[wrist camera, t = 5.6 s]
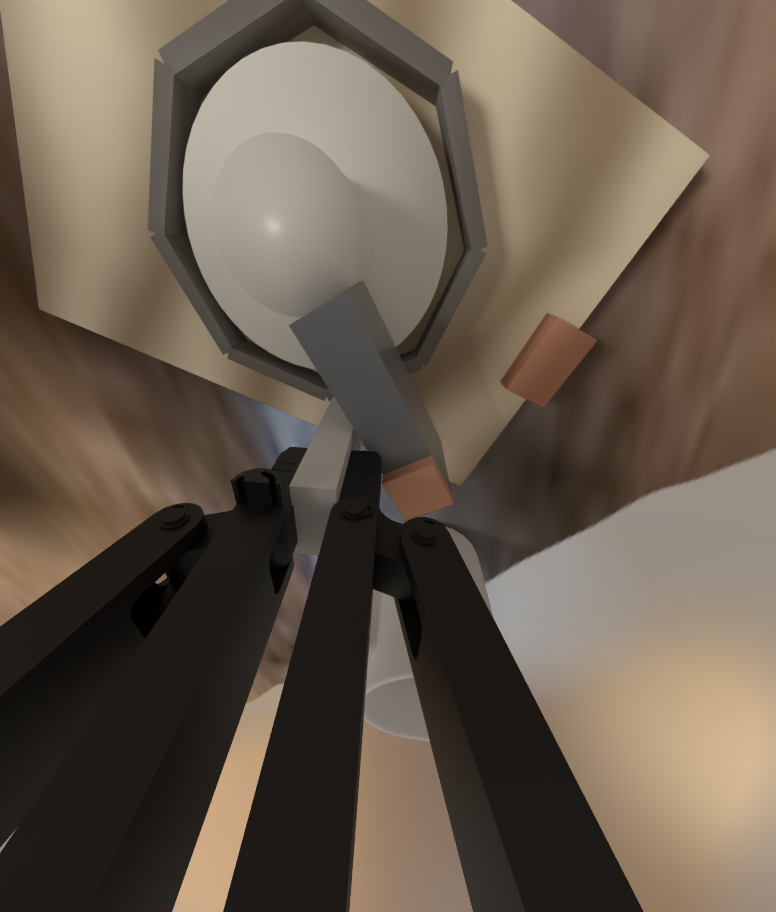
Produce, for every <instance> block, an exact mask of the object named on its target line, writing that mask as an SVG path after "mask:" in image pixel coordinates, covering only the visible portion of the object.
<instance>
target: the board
mask: <svg viewBox="0 0 776 912" xmlns="http://www.w3.org/2000/svg"><path fill="white" fill-rule="evenodd" d="M0 11H1V18H2V26H3V34H4V42H5V49H6V57H7V65H8V73H9V80H10V88H11V96H12V104H13V111H14V119H15V127H16V134H17V142H18V150H19V158H20V165H21V173H22V181H23V189H24V196H25V204H26V212H27V220H28V227H29V235H30V243H31V251H32V258H33V266H34V274H35V281H36V289H37V297H38V305H39V309H40V310H43V311H45V312H48V313H50V314H52V315H55V316H57V317H59V318H62V319H64V320H67V321H69V322H71V323H74V324H76V325H78V326H81V327H83V328H86V329H88V330H90V331H93V332H95V333H97V334H100V335H102V336H105V337H107V338H109V339H112V340H114V341H117V342H119V343H121V344H124V345H126V346H128V347H131V348H133V349H136V350H138V351H140V352H143V353H145V354H147V355H150V356H152V357H155V358H157V359H159V360H162V361H164V362H167V363H169V364H171V365H174V366H176V367H178V368H181V369H183V370H186V371H188V372H190V373H193V374H195V375H197V376H200V377H202V378H205V379H207V380H209V381H212V382H214V383H216V384H219V385H221V386H224V387H226V388H228V389H231V390H233V391H236V392H238V393H240V394H243V395H245V396H247V397H250V398H252V399H255V400H257V401H259V402H262V403H264V404H266V405H269V406H271V407H274V408H276V409H278V410H281V411H283V412H286V413H288V414H290V415H293V416H295V417H297V418H300V419H302V420H305V421H307V422H309V423H312V424H314V425H316V426H319V424H320V422H321V420H322V418H323V416H324V414H325V412H326V410H327V408H328V406H329V404H330V402H331V400H332V398H333V397H334V396H333V395H332V393H331V392H330V390H329V388H328V387H327V385H326V384H325V382H324V380H323V379H322V377H321V376H320V374H319V373H318V371H317V369H311V368H307V367H303V366H299V365H295V364H293V363H290V362H288V361H285V360H283V359H281V358H279V357H277V356H275V355H273V354H271V353H269V352H268V351H266V350H265V349H263V348H262V347H260V346H259V345H257V344H256V343H255V342H254V341H252V340H251V339H250V338H249V337H248V336H247V335H245V334H244V333H243V332H242V331H241V330H240V329H239V328H238V327H237V326H236V325H235V324H234V323H233V322H232V320H231V319H230V318H229V317H228V315H227V314H226V313H225V312H224V310H223V309H222V308H221V307H220V305H219V303H218V302H217V300H216V299H215V297H214V296H213V294H212V293H211V291H210V289H209V287H208V285H207V283H206V281H205V279H204V277H203V276H202V274H201V271H200V269H199V266H198V264H197V261H196V259H195V256H194V253H193V250H192V246H191V243H190V239H189V236H188V231H187V226H186V220H185V215H184V204H183V167H184V160H185V154H186V147H187V144H188V140H189V136H190V133H191V129H192V126H193V123H194V121H195V119H196V116H197V114H198V112H199V109H200V107H201V105H202V103H203V102H204V100H205V99H206V97H207V95H208V94H209V92H210V91H211V89H212V87H213V86H214V85H215V84H216V83H217V82H218V80H219V79H220V78H221V77H222V76H223V75H224V74H225V72H226V71H227V70H229V69H230V68H231V67H233V66H234V65H235V64H236V63H238V62H239V61H240V60H241V59H243V58H244V57H246V56H248V55H250V54H252V53H254V52H256V51H258V50H260V49H262V48H265V47H269V46H272V45H276V44H280V43H286V42H303V41H304V42H311V43H318V44H325V45H328V46H331V47H334V48H337V49H340V50H343V51H346V52H348V53H350V54H351V55H353V56H355V57H357V58H359V59H360V60H362V61H364V62H366V63H367V64H369V65H370V66H371V67H372V68H374V69H375V70H376V71H377V72H379V73H380V74H381V75H383V76H384V77H385V78H386V79H387V80H388V81H389V82H390V83H391V84H392V85H393V86H394V87H395V88H396V89H397V91H398V92H399V93H400V94H401V95H402V96H403V97H404V99H405V100H406V102H407V103H408V104H409V106H410V107H411V109H412V110H413V111H414V113H415V114H416V116H417V117H418V119H419V121H420V123H421V125H422V127H423V129H424V130H425V132H426V134H427V136H428V138H429V141H430V143H431V146H432V148H433V151H434V153H435V156H436V158H437V162H438V165H439V169H440V173H441V176H442V180H443V185H444V191H445V198H446V205H447V225H448V229H447V244H446V253H445V258H444V264H443V269H442V273H441V276H440V279H439V283H438V286H437V289H436V291H435V293H434V296H433V298H432V301H431V303H430V305H429V307H428V308H427V310H426V312H425V314H424V315H423V317H422V319H421V320H420V321H419V323H418V324H417V325H416V327H415V328H414V329H413V331H412V332H411V333H410V334H409V335H408V336H407V337H406V338H405V339H404V340H403V341H402V342H401V343H400V344H399V345H398V346H396V349H397V351H398V353H399V355H400V357H401V359H402V361H403V363H404V365H405V367H406V369H407V371H408V373H409V375H410V377H411V379H412V381H413V383H414V385H415V388H416V390H417V392H418V394H419V396H420V398H421V400H422V402H423V404H424V406H425V408H426V410H427V412H428V414H429V416H430V418H431V420H432V422H433V424H434V426H435V429H436V431H437V433H438V435H439V437H440V439H441V442H442V447H443V452H444V458H445V463H446V468H447V473H448V478H449V481H450V482H452V483H455V484H457V485H459V486H461V485H462V484H463V482H464V481H465V480H466V478H467V477H468V476H469V475H470V473H471V472H472V471H473V469H474V468H475V467H476V465H477V464H478V463H479V461H480V460H481V459H482V457H483V456H484V455H485V453H486V452H487V451H488V449H489V448H490V447H491V445H492V444H493V443H494V441H495V440H496V439H497V437H498V436H499V435H500V433H501V432H502V431H503V429H504V428H505V427H506V425H507V424H508V423H509V421H510V420H511V419H512V417H513V416H514V415H515V413H516V412H517V411H518V409H519V408H520V407H521V405H522V404H523V403H524V401H525V400H528V401H530V402H532V403H534V404H536V405H538V406H540V407H542V408H544V407H545V405H546V404H547V403H548V402H549V400H550V399H551V398H552V397H553V395H554V394H555V393H556V392H557V390H558V389H559V388H560V386H561V385H562V384H563V383H564V381H565V380H566V379H567V378H568V376H569V375H570V374H571V373H572V371H573V370H574V369H575V368H576V366H577V365H578V364H579V363H580V361H581V360H582V359H583V358H584V356H585V355H586V354H587V353H588V351H589V350H590V349H591V348H592V346H593V345H594V344H595V343H596V341H597V339H595V338H593V337H592V336H590V335H588V334H587V333H585V332H583V331H581V330H580V329H579V328H580V327H581V326H582V324H583V323H584V322H585V320H586V319H587V318H588V316H589V315H590V314H591V312H592V311H593V310H594V309H595V307H596V306H597V305H598V303H599V302H600V301H601V299H602V298H603V297H604V295H605V294H606V293H607V291H608V290H609V289H610V287H611V286H612V285H613V283H614V282H615V281H616V279H617V278H618V277H619V275H620V274H621V273H622V271H623V270H624V269H625V267H626V266H627V265H628V263H629V262H630V261H631V259H632V258H633V257H634V255H635V254H636V253H637V251H638V250H639V249H640V247H641V246H642V245H643V243H644V242H645V241H646V239H647V238H648V237H649V235H650V234H651V233H652V231H653V230H654V229H655V227H656V226H657V225H658V224H659V222H660V221H661V220H662V218H663V217H664V216H665V214H666V213H667V212H668V210H669V209H670V208H671V206H672V205H673V204H674V202H675V201H676V200H677V198H678V197H679V196H680V194H681V193H682V192H683V190H684V189H685V188H686V186H687V185H688V184H689V182H690V181H691V180H692V178H693V177H694V176H695V174H696V173H697V172H698V170H699V169H700V168H701V166H702V165H703V164H704V162H705V161H706V160H707V158H708V157H709V156H710V155H709V154H708V153H706V152H705V151H704V150H702V149H701V148H700V147H699V146H697V145H696V144H695V143H693V142H692V141H691V140H690V139H688V138H687V137H686V136H685V135H683V134H682V133H681V132H679V131H678V130H677V129H676V128H674V127H673V126H672V125H670V124H669V123H668V122H667V121H665V120H664V119H663V118H661V117H660V116H659V115H658V114H656V113H655V112H654V111H652V110H651V109H650V108H649V107H647V106H646V105H645V104H644V103H642V102H641V101H640V100H638V99H637V98H636V97H635V96H633V95H632V94H631V93H629V92H628V91H627V90H626V89H624V88H623V87H622V86H620V85H619V84H618V83H617V82H615V81H614V80H613V79H611V78H610V77H609V76H608V75H606V74H605V73H604V72H603V71H601V70H600V69H599V68H597V67H596V66H595V65H594V64H592V63H591V62H590V61H588V60H587V59H586V58H585V57H583V56H582V55H581V54H579V53H578V52H577V51H576V50H574V49H573V48H572V47H570V46H569V45H568V44H567V43H565V42H564V41H563V40H561V39H560V38H559V37H558V36H556V35H555V34H554V33H553V32H551V31H550V30H549V29H547V28H546V27H545V26H544V25H542V24H541V23H540V22H538V21H537V20H536V19H535V18H533V17H532V16H531V15H529V14H528V13H527V12H526V11H524V10H523V9H522V8H520V7H519V6H518V5H517V4H515V3H514V2H513V1H512V0H0ZM361 444H362V445H364V444H363V442H362V441H361ZM364 446H365V445H364Z"/></svg>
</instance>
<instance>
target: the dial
mask: <svg viewBox="0 0 776 912" xmlns="http://www.w3.org/2000/svg"><path fill="white" fill-rule="evenodd" d="M183 204H184V215H185V220H186V226H187V231H188V236H189V239H190V243H191V246H192V250H193V253H194V256H195V259H196V261H197V264H198V266H199V269H200V271H201V274H202V276H203V277H204V279H205V281H206V283H207V285H208V287H209V289H210V291H211V293H212V294H213V296H214V297H215V299H216V300H217V302H218V303H219V305H220V307H221V308H222V309H223V310H224V312H225V313H226V314H227V315H228V317H229V318H230V319H231V320H232V322H233V323H234V324H235V325H236V326H237V327H238V328H239V329H240V330H241V331H242V332H243V333H244V334H245V335H247V336H248V337H249V338H250V339H251V340H252V341H254V342H255V343H256V344H257V345H259V346H260V347H262V348H263V349H265V350H266V351H268V352H269V353H271V354H273V355H275V356H277V357H279V358H281V359H283V360H285V361H288V362H290V363H293V364H295V365H299V366H303V367H307V368H311V369H317V371H318V373H319V374H320V376H321V377H322V379H323V380H324V382H325V384H326V385H327V387H328V388H329V390H330V392H331V393H332V395H333V396H334V398H335V399H336V401H337V403H338V404H339V406H340V407H341V409H342V410H343V412H344V414H345V415H346V417H347V418H348V420H349V422H350V423H351V425H352V426H353V428H354V429H355V431H356V433H357V434H358V436H359V437H360V439H361V441H362V442H363V444H364V445H365V447H366V448H367V450H368V451H373V452H378V454H379V455H380V457H381V458H382V474H383V480H382V485H383V486H384V488H385V489H386V491H387V492H388V494H389V496H390V497H391V499H392V500H393V502H394V503H395V505H396V506H397V508H398V509H399V511H400V513H401V514H402V516H403V517H404V519H405V520H406V521H407V520H409V519H412V518H415V517H418V516H421V515H424V514H427V513H430V512H433V511H436V510H438V509H441V508H444V507H447V506H450V505H453V504H454V503H453V498H452V493H451V488H450V483H449V478H448V473H447V468H446V463H445V458H444V452H443V447H442V442H441V439H440V437H439V435H438V433H437V431H436V429H435V426H434V424H433V422H432V420H431V418H430V416H429V414H428V412H427V410H426V408H425V406H424V404H423V402H422V400H421V398H420V396H419V394H418V392H417V390H416V388H415V385H414V383H413V381H412V379H411V377H410V375H409V373H408V371H407V369H406V367H405V365H404V363H403V361H402V359H401V357H400V355H399V353H398V351H397V349H396V346H398V345H399V344H400V343H401V342H402V341H403V340H404V339H405V338H406V337H407V336H408V335H409V334H410V333H411V332H412V331H413V329H414V328H415V327H416V325H417V324H418V323H419V321H420V320H421V319H422V317H423V315H424V314H425V312H426V310H427V308H428V307H429V305H430V303H431V301H432V298H433V296H434V293H435V291H436V289H437V286H438V283H439V279H440V276H441V273H442V269H443V264H444V258H445V253H446V244H447V229H448V225H447V205H446V198H445V191H444V185H443V180H442V176H441V173H440V169H439V165H438V162H437V158H436V156H435V153H434V151H433V148H432V146H431V143H430V141H429V138H428V136H427V134H426V132H425V130H424V129H423V127H422V125H421V123H420V121H419V119H418V117H417V116H416V114H415V113H414V111H413V110H412V109H411V107H410V106H409V104H408V103H407V102H406V100H405V99H404V97H403V96H402V95H401V94H400V93H399V92H398V91H397V89H396V88H395V87H394V86H393V85H392V84H391V83H390V82H389V81H388V80H387V79H386V78H385V77H384V76H383V75H381V74H380V73H379V72H377V71H376V70H375V69H374V68H372V67H371V66H370V65H369V64H367V63H366V62H364V61H362V60H360V59H359V58H357V57H355V56H353V55H351V54H350V53H348V52H346V51H343V50H340V49H337V48H334V47H331V46H328V45H325V44H318V43H311V42H304V41H303V42H286V43H280V44H276V45H272V46H269V47H265V48H262V49H260V50H258V51H256V52H254V53H252V54H250V55H248V56H246V57H244V58H243V59H241V60H240V61H239V62H238V63H236V64H235V65H234V66H233V67H231V68H230V69H229V70H227V71H226V72H225V74H224V75H223V76H222V77H221V78H220V79H219V80H218V82H217V83H216V84H215V85H214V86H213V87H212V89H211V91H210V92H209V94H208V95H207V97H206V99H205V100H204V102H203V103H202V105H201V107H200V109H199V112H198V114H197V116H196V119H195V121H194V123H193V126H192V129H191V133H190V136H189V140H188V144H187V147H186V154H185V160H184V167H183Z"/></svg>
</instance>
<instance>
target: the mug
mask: <svg viewBox="0 0 776 912" xmlns="http://www.w3.org/2000/svg"><path fill="white" fill-rule="evenodd" d="M445 527H446V526H445ZM446 529H447V530H448V531H449V533H450V535H451V537H452V539H453V540H454V542H455V544H456V546H457V548H458V550H459V552H460V554H461V556H462V558H463V560H464V562H465V564H466V566H467V568H468V570H469V572H470V574H471V576H472V578H473V580H474V582H475V583H476V585H477V587H478V589H479V591H480V593H481V595H482V597H483V599H484V601H485V603H486V605H487V607H488V609H489V611H490V613H491V615H492V612H491V607H490V603H489V599H488V595H487V591H486V587H485V583H484V579H483V574H482V570H481V566H480V563H479V559H478V556H477V553H476V551H475V549H474V547H473V545H472V544H471V543H470V541H469V540H468V539H467V538H466V537H465V536H463V535H462V534H461V533H459V532H457V531H456V530H454V529H451V528H449V527H446ZM492 617H493V615H492ZM364 720H365V721H366V722H367V723H368V724H370V725H372V726H373V727H375V728H377V729H379V730H381V731H384V732H386V733H389V734H393V735H396V736H400V737H404V738H410V739H416V740H426V741H430V739H429V735H428V731H427V728H426V724H425V720H424V716H423V712H422V708H421V704H420V700H419V696H418V692H417V688H416V684H415V680H414V676H413V672H412V668H411V664H410V660H409V656H408V653H407V649H406V645H405V641H404V637H403V633H402V629H401V625H400V621H399V617H398V613H397V609H396V605H395V601H394V597H392V596H389V595H387V594H384V593H382V592H379V591H376V590H373V600H372V614H371V627H370V641H369V654H368V668H367V681H366V694H365V708H364Z"/></svg>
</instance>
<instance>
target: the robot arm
mask: <svg viewBox="0 0 776 912" xmlns="http://www.w3.org/2000/svg"><path fill="white" fill-rule="evenodd" d="M360 446H361V439H360V437H359V436H358V434H357V433H356V431H355V429H354V428H353V426H352V425H351V423H350V422H349V420H348V418H347V417H346V415H345V414H344V412H343V410H342V409H341V407H340V406H339V404H338V403H337V401H336V399H335V398H334V397H333V398H332V400H331V402H330V404H329V406H328V408H327V410H326V412H325V414H324V416H323V418H322V420H321V422H320V424H319V426H318V428H317V430H316V432H315V434H314V436H313V439H312V441H311V443H310V445H309V447H308V448H298V447H290V448H288V449H287V450H285V451H284V452H283V453H281V454H280V456H279V457H278V459H277V461H276V464H274V466H273V467H272V470H270V469H265V468H260V469H252V470H248V471H244V472H242V473H240V474H238V475H236V476H235V477H234V478H233V479H232V480H231V484H232V488H233V491H234V495H235V499H236V503H237V505H236V506H235V507H234V509H233V510H231V511H227V512H221V513H215V514H209V515H204V513H203V510H202V508H201V507H200V506H198V505H196V504H191V503H181V504H175V505H172V506H169V507H166V508H164V509H162V510H160V511H158V512H157V513H155V514H153V515H152V516H151V517H149V518H148V519H147V520H145V521H144V522H142V523H141V524H140V525H138V526H137V527H136V528H134V529H133V530H132V531H130V532H129V533H127V534H126V535H125V536H123V537H122V538H121V539H119V540H118V541H117V542H115V543H114V544H112V545H111V546H110V547H108V548H107V549H106V550H104V551H103V552H102V553H100V554H99V555H97V556H96V557H95V558H93V559H92V560H91V561H89V562H88V563H86V564H85V565H84V566H82V567H81V568H80V569H78V570H77V571H76V572H74V573H73V574H71V575H70V576H69V577H67V578H66V579H65V580H63V581H62V582H61V583H59V584H58V585H56V586H55V587H54V588H52V589H51V590H50V591H48V592H47V593H46V594H44V595H43V596H41V597H40V598H39V599H37V600H36V601H35V602H33V603H32V604H30V605H29V606H28V607H26V608H25V609H24V610H22V611H21V612H20V613H18V614H17V615H15V616H14V617H13V618H11V619H10V620H9V621H7V622H6V623H5V624H3V625H2V626H0V847H1V846H2V845H3V843H4V842H5V841H6V840H7V839H8V838H9V836H10V835H11V834H12V833H13V832H14V831H15V830H16V831H15V832H14V833H13V835H12V836H11V838H10V839H9V841H8V842H7V844H6V845H5V847H4V848H3V850H2V851H1V853H0V912H172V910H173V907H174V905H175V902H176V899H177V896H178V893H179V890H180V888H181V885H182V882H183V879H184V876H185V874H186V870H187V868H188V865H189V862H190V859H191V856H192V854H193V851H194V848H195V845H196V842H197V839H198V837H199V834H200V831H201V828H202V825H203V823H204V820H205V817H206V814H207V811H208V808H209V806H210V803H211V800H212V797H213V794H214V791H215V789H216V786H217V783H218V780H219V777H220V775H221V772H222V769H223V766H224V763H225V760H226V758H227V755H228V752H229V749H230V746H231V744H232V741H233V738H234V735H235V732H236V729H237V726H238V724H239V721H240V717H241V715H242V712H243V710H244V707H245V704H246V701H247V698H248V695H249V693H250V690H251V687H252V684H253V681H254V679H255V676H256V673H257V670H258V667H259V664H260V662H261V659H262V656H263V653H264V650H265V647H266V645H267V642H268V639H269V636H270V633H271V630H272V628H273V625H274V622H275V619H276V616H277V614H278V611H279V608H280V605H281V602H282V599H283V597H284V594H285V591H286V588H287V585H288V582H289V580H290V577H291V574H292V571H293V567H294V560H293V552H294V550H295V547H296V544H297V547H298V554H304V555H317V556H318V559H317V563H316V567H315V571H314V574H313V578H312V582H311V586H310V589H309V593H308V597H307V601H306V604H305V608H304V612H303V616H302V619H301V623H300V627H299V630H298V634H297V638H296V642H295V645H294V649H293V653H292V657H291V660H290V664H289V668H288V672H287V675H286V679H285V683H284V687H283V690H282V694H281V698H280V702H279V705H278V709H277V713H276V717H275V721H274V724H273V728H272V732H271V735H270V739H269V743H268V747H267V750H266V754H265V758H264V761H263V765H262V769H261V773H260V776H259V780H258V784H257V788H256V791H255V795H254V799H253V803H252V806H251V810H250V814H249V818H248V822H247V825H246V829H245V832H244V837H243V840H242V844H241V847H240V851H239V855H238V859H237V862H236V866H235V870H234V874H233V877H232V881H231V885H230V888H229V892H228V896H227V900H226V904H225V907H224V911H223V912H349V909H350V895H351V883H352V869H353V855H354V842H355V829H356V815H357V802H358V788H359V775H360V761H361V748H362V733H363V720H364V708H365V694H366V681H367V668H368V654H369V641H370V627H371V614H372V600H373V590H376V591H379V592H382V593H384V594H387V595H389V596H392V597H394V601H395V605H396V609H397V613H398V617H399V621H400V625H401V629H402V633H403V637H404V641H405V645H406V649H407V653H408V656H409V660H410V664H411V668H412V672H413V676H414V680H415V684H416V688H417V692H418V696H419V700H420V704H421V708H422V712H423V716H424V720H425V724H426V728H427V731H428V735H429V739H430V743H431V747H432V751H433V755H434V759H435V763H436V767H437V771H438V775H439V779H440V783H441V787H442V791H443V795H444V798H445V803H446V806H447V810H448V814H449V818H450V822H451V826H452V830H453V834H454V838H455V842H456V846H457V850H458V854H459V857H460V862H461V866H462V870H463V873H464V877H465V881H466V885H467V889H468V893H469V897H470V901H471V905H472V909H473V912H643V910H642V908H641V906H640V904H639V902H638V900H637V898H636V896H635V894H634V892H633V890H632V888H631V887H630V884H629V882H628V881H627V879H626V877H625V875H624V873H623V871H622V869H621V867H620V865H619V863H618V861H617V859H616V857H615V855H614V853H613V851H612V849H611V847H610V846H609V843H608V841H607V839H606V838H605V836H604V834H603V832H602V830H601V828H600V826H599V824H598V822H597V820H596V818H595V816H594V814H593V812H592V810H591V809H590V806H589V805H588V802H587V800H586V798H585V796H584V795H583V793H582V791H581V789H580V787H579V785H578V783H577V781H576V779H575V777H574V775H573V773H572V771H571V769H570V768H569V765H568V763H567V761H566V759H565V758H564V756H563V754H562V752H561V750H560V748H559V746H558V744H557V742H556V740H555V738H554V736H553V734H552V732H551V730H550V728H549V726H548V724H547V722H546V720H545V719H544V716H543V714H542V713H541V710H540V709H539V707H538V705H537V703H536V701H535V699H534V697H533V695H532V693H531V691H530V689H529V687H528V685H527V683H526V681H525V679H524V677H523V675H522V673H521V672H520V669H519V668H518V666H517V664H516V662H515V660H514V658H513V656H512V654H511V652H510V650H509V648H508V646H507V644H506V642H505V640H504V638H503V636H502V634H501V632H500V630H499V629H498V627H497V625H496V623H495V621H494V619H493V617H492V615H491V613H490V611H489V609H488V607H487V605H486V603H485V601H484V599H483V597H482V595H481V593H480V591H479V589H478V587H477V585H476V583H475V582H474V580H473V578H472V576H471V574H470V572H469V570H468V568H467V566H466V564H465V562H464V560H463V558H462V556H461V554H460V552H459V550H458V548H457V546H456V544H455V542H454V540H453V539H452V537H451V535H450V533H449V531H448V530H447V529H446V527H445V526H444V525H443V524H441V523H440V522H438V521H437V520H434V519H431V518H427V517H417V518H413V519H410V520H408V521H407V522H406V523H404V524H401V523H398V522H395V521H393V520H390V519H389V518H387V517H386V516H385V515H384V514H383V513H382V512H381V510H380V508H379V503H380V491H381V473H382V458H381V457H380V455H379V454H378V452H373V451H360ZM164 573H165V574H166V576H167V578H166V579H165V580H164V581H162V582H161V583H159V584H156V583H155V581H157V580H158V579H159V578H160V577H161V576H162V575H163V574H164ZM16 828H17V829H16Z"/></svg>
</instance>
